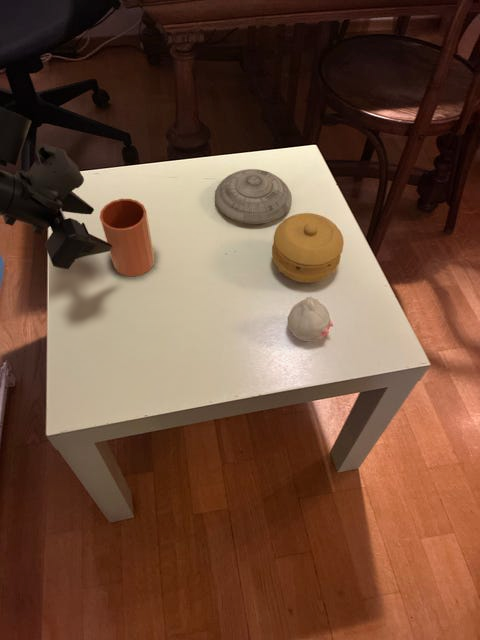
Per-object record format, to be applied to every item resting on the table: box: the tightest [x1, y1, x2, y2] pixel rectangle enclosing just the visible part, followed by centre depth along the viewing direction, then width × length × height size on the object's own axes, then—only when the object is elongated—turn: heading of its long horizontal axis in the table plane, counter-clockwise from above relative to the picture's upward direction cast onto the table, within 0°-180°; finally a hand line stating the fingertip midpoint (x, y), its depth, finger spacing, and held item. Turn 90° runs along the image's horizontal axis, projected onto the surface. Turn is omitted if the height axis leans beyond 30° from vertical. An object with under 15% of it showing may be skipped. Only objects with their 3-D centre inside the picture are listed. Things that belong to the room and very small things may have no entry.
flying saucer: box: [214, 168, 293, 225], centre depth 93 cm, size 15×15×6 cm
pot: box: [271, 212, 345, 283], centre depth 82 cm, size 12×12×10 cm
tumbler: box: [99, 198, 155, 277], centre depth 81 cm, size 7×7×11 cm
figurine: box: [287, 296, 334, 342], centre depth 74 cm, size 6×7×8 cm
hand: (101, 229), depth 77 cm, fingers open, 9 cm apart
